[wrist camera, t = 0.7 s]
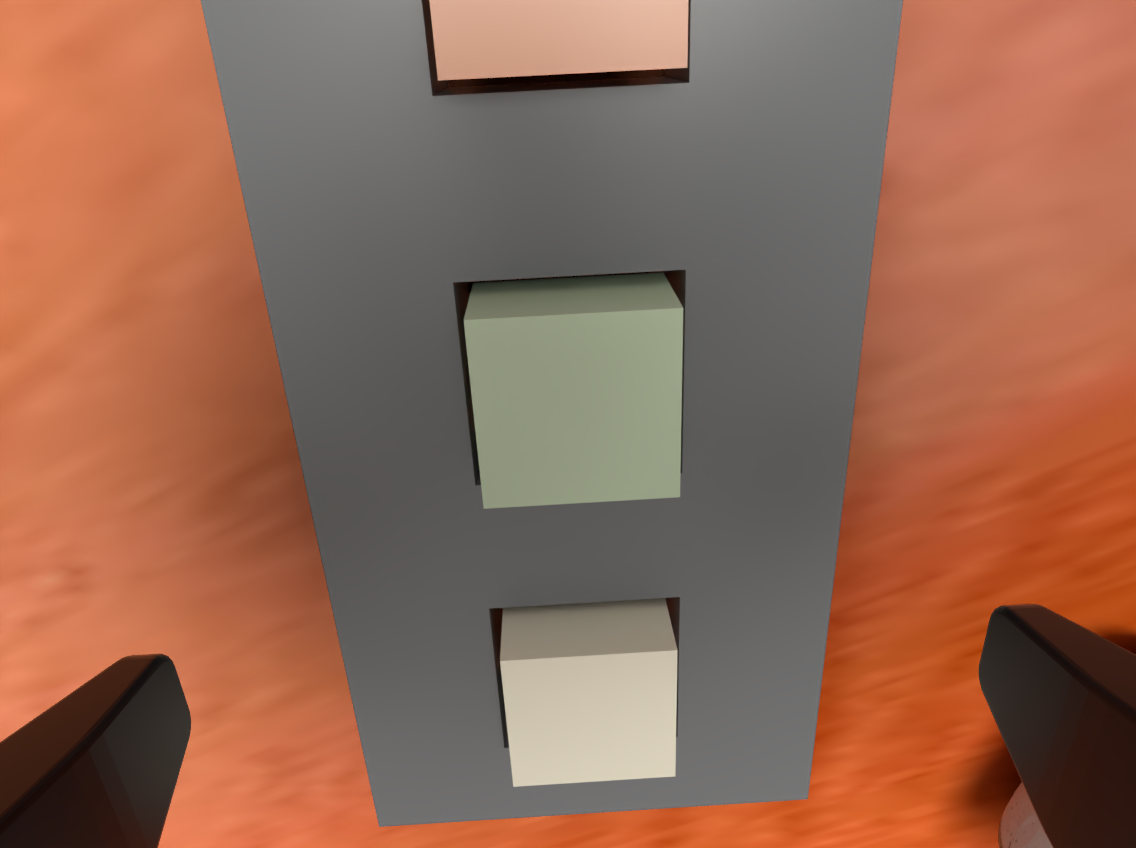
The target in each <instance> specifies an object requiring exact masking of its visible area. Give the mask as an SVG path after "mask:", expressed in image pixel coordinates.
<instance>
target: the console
mask: <svg viewBox="0 0 1136 848" xmlns="http://www.w3.org/2000/svg"><path fill="white" fill-rule="evenodd" d="M201 4H202V8H203V13H204V17H205V22H206V27H207V31H208V36H209V41H210V45H211V50H212V54H213V59H214V64H215V68H216V73H217V78H218V82H219V87H220V92H221V96H222V101H223V105H224V110H225V115H226V119H227V124H228V129H229V133H230V138H231V142H232V147H233V152H234V156H235V161H236V166H237V170H238V175H239V180H240V184H241V189H242V193H243V198H244V203H245V207H246V212H247V217H248V221H249V226H250V230H251V235H252V240H253V244H254V249H255V254H256V258H257V263H258V267H259V272H260V277H261V281H262V286H263V291H264V295H265V300H266V305H267V309H268V314H269V318H270V323H271V328H272V332H273V337H274V342H275V346H276V351H277V355H278V360H279V365H280V369H281V374H282V379H283V383H284V388H285V392H286V397H287V402H288V406H289V411H290V416H291V420H292V425H293V430H294V434H295V439H296V443H297V448H298V453H299V457H300V462H301V467H302V471H303V476H304V480H305V485H306V490H307V494H308V499H309V504H310V508H311V513H312V518H313V522H314V527H315V531H316V536H317V541H318V545H319V550H320V555H321V559H322V564H323V568H324V573H325V578H326V582H327V587H328V592H329V596H330V601H331V605H332V610H333V615H334V619H335V624H336V629H337V633H338V638H339V643H340V647H341V652H342V656H343V661H344V666H345V670H346V675H347V680H348V684H349V689H350V693H351V698H352V703H353V707H354V712H355V717H356V721H357V726H358V730H359V735H360V740H361V744H362V749H363V754H364V758H365V763H366V768H367V772H368V777H369V781H370V786H371V791H372V795H373V800H374V805H375V809H376V814H377V818H378V823H379V827H383V826H399V825H414V824H430V823H445V822H461V821H476V820H492V819H507V818H523V817H538V816H554V815H569V814H585V813H600V812H616V811H632V810H647V809H663V808H678V807H694V806H709V805H725V804H740V803H756V802H771V801H787V800H802V799H808V792H809V784H810V775H811V767H812V758H813V750H814V742H815V733H816V725H817V717H818V708H819V700H820V691H821V683H822V675H823V666H824V658H825V650H826V641H827V633H828V624H829V616H830V608H831V599H832V591H833V582H834V574H835V566H836V557H837V549H838V541H839V532H840V524H841V515H842V507H843V499H844V490H845V482H846V474H847V465H848V457H849V448H850V440H851V432H852V423H853V415H854V407H855V398H856V390H857V381H858V373H859V365H860V356H861V348H862V340H863V331H864V323H865V314H866V306H867V298H868V289H869V281H870V273H871V264H872V256H873V247H874V239H875V231H876V222H877V214H878V206H879V197H880V189H881V180H882V172H883V164H884V155H885V147H886V138H887V130H888V122H889V113H890V105H891V97H892V88H893V80H894V71H895V63H896V55H897V46H898V38H899V30H900V21H901V13H902V4H903V0H688V59H687V68H672V69H665V76H663V77H644V78H625V79H605V80H586V81H567V82H547V83H528V84H508V85H489V86H470V87H450V88H449V86H448V80H439V81H438V76H437V67H436V58H435V48H434V39H433V29H432V20H431V11H430V1H429V0H201ZM653 271H664V274H665V276H666V278H667V280H668V281H669V283H670V285H671V287H672V289H673V290H674V292H675V294H676V296H677V298H678V299H679V301H680V303H681V305H682V307H683V354H682V413H681V472H680V497H675V498H658V499H641V500H624V501H607V502H590V503H573V504H556V505H539V506H522V507H505V508H488V509H484V507H483V498H482V488H481V479H480V470H479V460H478V451H477V441H476V432H475V423H474V413H473V404H472V395H471V385H470V376H469V367H468V357H467V348H466V338H465V329H464V316H465V313H466V309H467V305H468V301H469V297H470V292H469V283H468V282H471V281H489V280H508V279H526V278H544V277H562V276H580V275H599V274H617V273H635V272H653ZM655 598H665V599H666V603H667V608H668V612H669V616H670V620H671V625H672V629H673V633H674V637H675V642H676V646H677V708H676V767H675V777H659V778H643V779H628V780H612V781H597V782H581V783H565V784H550V785H534V786H518V787H513V778H512V769H511V760H510V750H509V741H508V732H507V722H506V713H505V704H504V694H503V685H502V676H501V666H500V652H501V634H502V608H507V607H524V606H540V605H557V604H573V603H590V602H606V601H622V600H639V599H655Z"/></svg>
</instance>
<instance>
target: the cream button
mask: <svg viewBox="0 0 1136 848" xmlns="http://www.w3.org/2000/svg"><path fill="white" fill-rule="evenodd" d="M500 666H501V676H502V685H503V694H504V704H505V713H506V722H507V732H508V741H509V750H510V760H511V769H512V778H513V787H518V786H534V785H550V784H565V783H581V782H597V781H612V780H628V779H643V778H659V777H675V767H676V708H677V646H676V642H675V637H674V633H673V629H672V625H671V620H670V616H669V612H668V608H667V603H666V599H665V598H655V599H639V600H622V601H606V602H590V603H573V604H557V605H540V606H524V607H507V608H503V616H502V634H501V652H500Z"/></svg>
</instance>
